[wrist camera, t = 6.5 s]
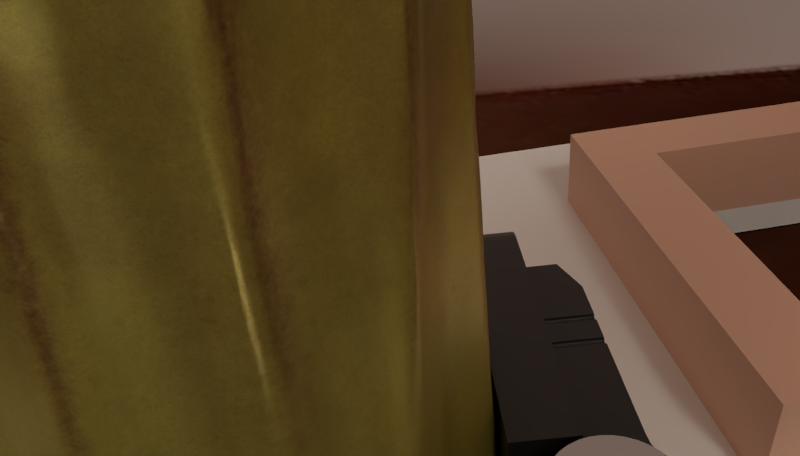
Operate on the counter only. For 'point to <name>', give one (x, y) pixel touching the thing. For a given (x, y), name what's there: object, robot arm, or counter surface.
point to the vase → (241, 229)
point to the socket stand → (674, 266)
